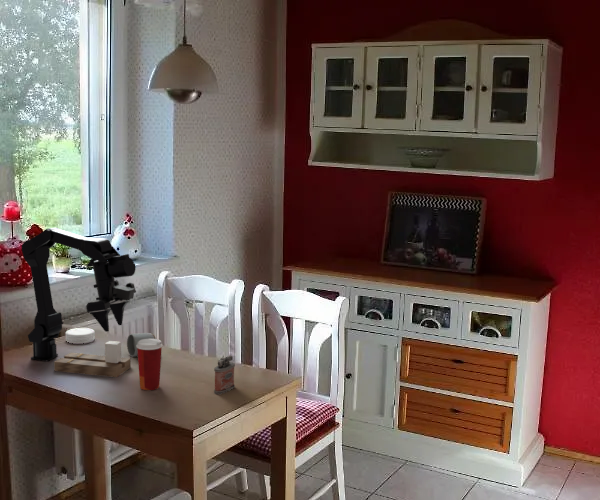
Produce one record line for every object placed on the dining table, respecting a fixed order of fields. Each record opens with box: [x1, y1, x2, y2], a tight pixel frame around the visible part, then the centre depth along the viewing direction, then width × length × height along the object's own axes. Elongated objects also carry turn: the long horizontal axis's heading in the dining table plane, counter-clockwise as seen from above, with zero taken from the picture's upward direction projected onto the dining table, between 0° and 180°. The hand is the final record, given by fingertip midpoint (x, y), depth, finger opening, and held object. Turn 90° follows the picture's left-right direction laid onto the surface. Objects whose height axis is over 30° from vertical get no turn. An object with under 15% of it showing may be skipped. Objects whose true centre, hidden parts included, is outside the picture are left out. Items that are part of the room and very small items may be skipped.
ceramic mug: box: [126, 332, 157, 358], centre depth 253 cm, size 11×8×8 cm
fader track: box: [53, 352, 132, 378], centre depth 236 cm, size 21×10×3 cm, turn 78°
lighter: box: [213, 354, 236, 395], centre depth 220 cm, size 8×3×10 cm, turn 148°
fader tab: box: [104, 340, 122, 363], centre depth 234 cm, size 4×3×8 cm
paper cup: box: [136, 338, 164, 391], centre depth 221 cm, size 8×8×14 cm
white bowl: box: [65, 327, 96, 345], centre depth 267 cm, size 10×10×4 cm
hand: (113, 328), depth 233 cm, fingers open, 9 cm apart
